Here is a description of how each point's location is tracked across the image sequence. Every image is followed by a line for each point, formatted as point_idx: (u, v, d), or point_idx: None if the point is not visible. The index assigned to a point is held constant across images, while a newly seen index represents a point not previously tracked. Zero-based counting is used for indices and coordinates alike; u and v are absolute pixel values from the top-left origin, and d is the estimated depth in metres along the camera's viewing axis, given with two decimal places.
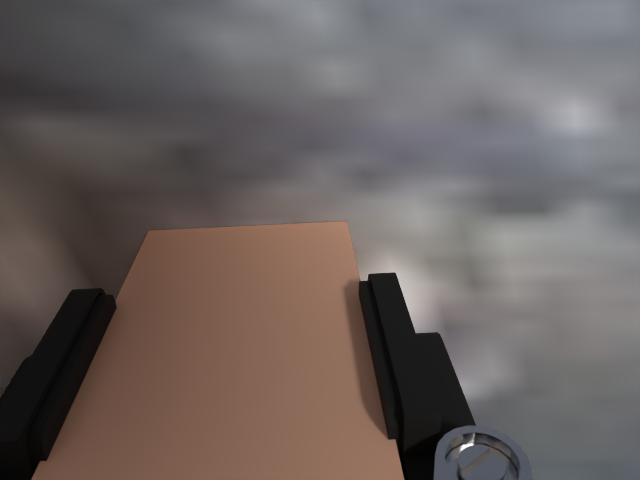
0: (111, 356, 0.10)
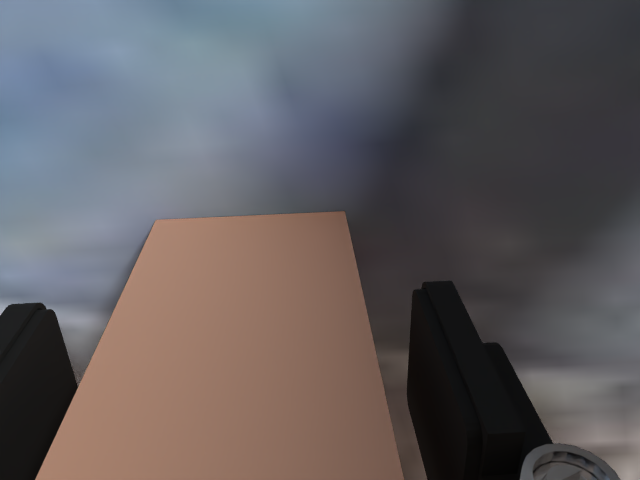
0: (124, 332, 0.11)
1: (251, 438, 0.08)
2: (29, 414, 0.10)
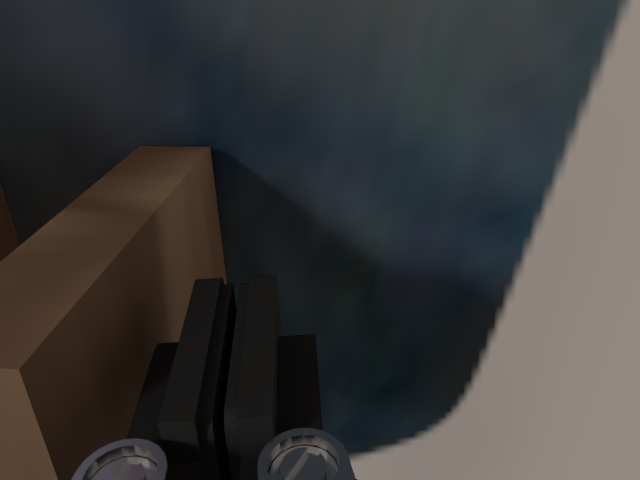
0: None
1: None
2: None
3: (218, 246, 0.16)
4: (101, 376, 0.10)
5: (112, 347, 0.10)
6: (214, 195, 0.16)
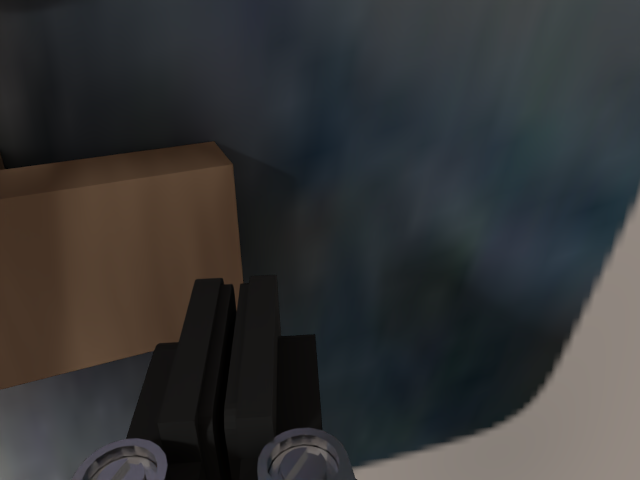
0: None
1: None
2: None
3: (229, 266, 0.15)
4: None
5: None
6: (231, 214, 0.15)
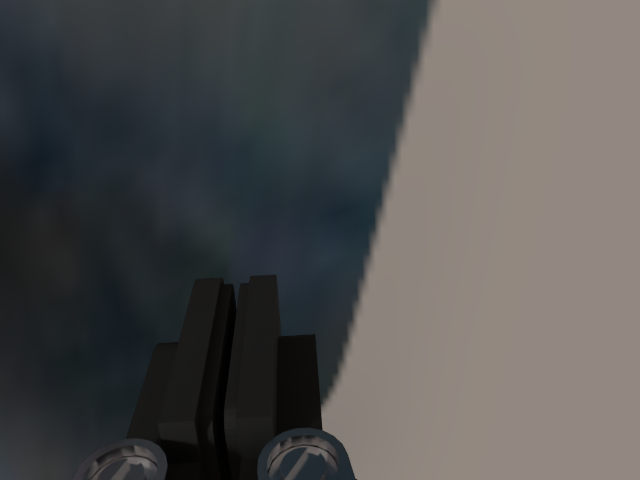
0: None
1: None
2: None
3: None
4: None
5: None
6: None
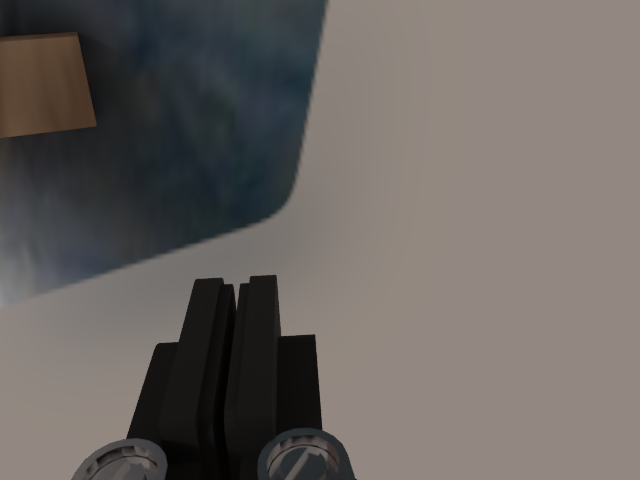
0: None
1: None
2: None
3: (82, 90, 0.32)
4: None
5: None
6: (80, 62, 0.31)
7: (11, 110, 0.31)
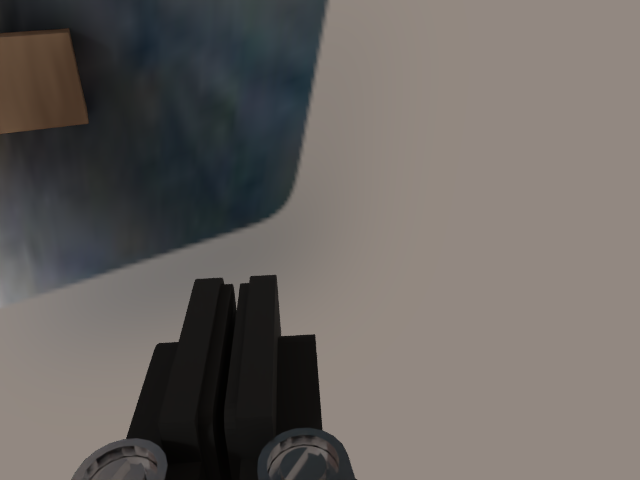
0: None
1: None
2: None
3: (74, 87, 0.32)
4: None
5: None
6: (71, 59, 0.31)
7: (2, 107, 0.31)
